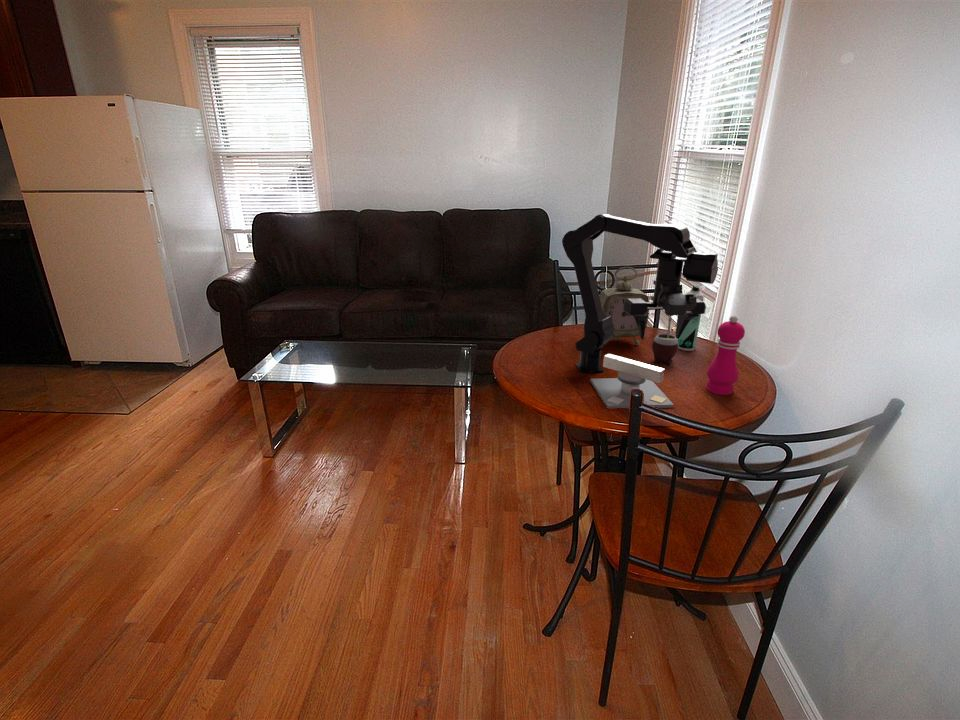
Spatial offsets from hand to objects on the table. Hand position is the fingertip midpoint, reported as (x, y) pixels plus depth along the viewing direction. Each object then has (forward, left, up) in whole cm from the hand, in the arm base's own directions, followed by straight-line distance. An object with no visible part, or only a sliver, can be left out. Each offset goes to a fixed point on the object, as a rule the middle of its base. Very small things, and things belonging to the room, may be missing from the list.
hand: (659, 338), depth 124 cm
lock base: (+5, -8, -13) cm, 16 cm away
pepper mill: (+4, +16, -13) cm, 21 cm away
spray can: (-27, +21, -13) cm, 37 cm away
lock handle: (+5, -8, -9) cm, 13 cm away
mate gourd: (-16, +9, -13) cm, 23 cm away
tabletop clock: (-33, +1, -13) cm, 36 cm away
